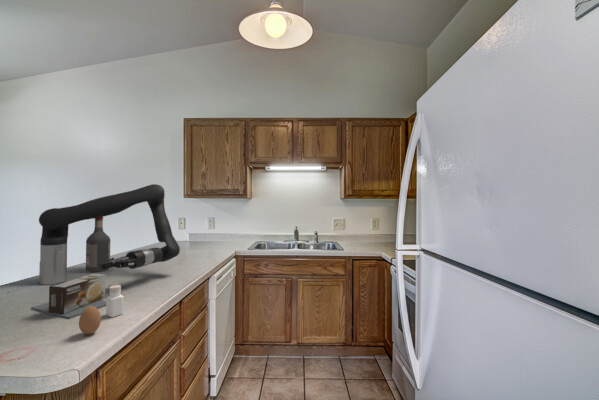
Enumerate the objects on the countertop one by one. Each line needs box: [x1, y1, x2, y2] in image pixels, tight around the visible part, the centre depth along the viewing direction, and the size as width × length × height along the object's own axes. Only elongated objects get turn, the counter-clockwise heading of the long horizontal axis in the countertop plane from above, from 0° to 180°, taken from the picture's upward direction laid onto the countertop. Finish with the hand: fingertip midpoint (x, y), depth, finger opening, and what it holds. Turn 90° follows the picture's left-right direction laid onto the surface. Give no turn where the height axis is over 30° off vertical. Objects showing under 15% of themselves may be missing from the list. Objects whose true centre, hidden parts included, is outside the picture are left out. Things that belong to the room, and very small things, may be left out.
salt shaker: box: [105, 284, 125, 318], centre depth 96 cm, size 4×4×10 cm
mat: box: [30, 299, 106, 320], centre depth 102 cm, size 20×14×1 cm
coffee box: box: [48, 273, 106, 314], centre depth 103 cm, size 9×6×16 cm
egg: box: [78, 306, 102, 335], centre depth 83 cm, size 5×5×8 cm
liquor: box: [85, 217, 111, 273], centre depth 151 cm, size 9×9×30 cm
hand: (101, 266), depth 112 cm, fingers closed
